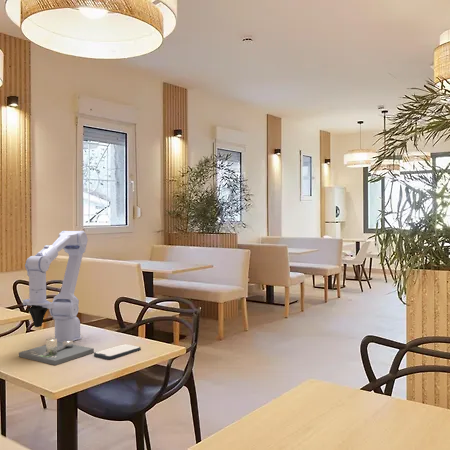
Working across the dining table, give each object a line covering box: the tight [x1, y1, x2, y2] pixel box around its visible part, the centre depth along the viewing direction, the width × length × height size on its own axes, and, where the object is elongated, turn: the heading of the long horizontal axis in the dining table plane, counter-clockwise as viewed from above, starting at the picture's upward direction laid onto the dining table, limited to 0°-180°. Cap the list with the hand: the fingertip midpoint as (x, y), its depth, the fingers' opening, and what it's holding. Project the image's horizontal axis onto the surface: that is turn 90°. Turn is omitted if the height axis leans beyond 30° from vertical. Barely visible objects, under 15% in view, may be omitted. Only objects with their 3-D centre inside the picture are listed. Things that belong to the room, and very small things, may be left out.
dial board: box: [18, 342, 95, 366], centre depth 174 cm, size 17×19×2 cm
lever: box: [43, 337, 74, 356], centre depth 173 cm, size 15×4×5 cm, turn 161°
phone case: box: [93, 343, 142, 361], centre depth 176 cm, size 9×2×16 cm
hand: (38, 326), depth 176 cm, fingers closed
